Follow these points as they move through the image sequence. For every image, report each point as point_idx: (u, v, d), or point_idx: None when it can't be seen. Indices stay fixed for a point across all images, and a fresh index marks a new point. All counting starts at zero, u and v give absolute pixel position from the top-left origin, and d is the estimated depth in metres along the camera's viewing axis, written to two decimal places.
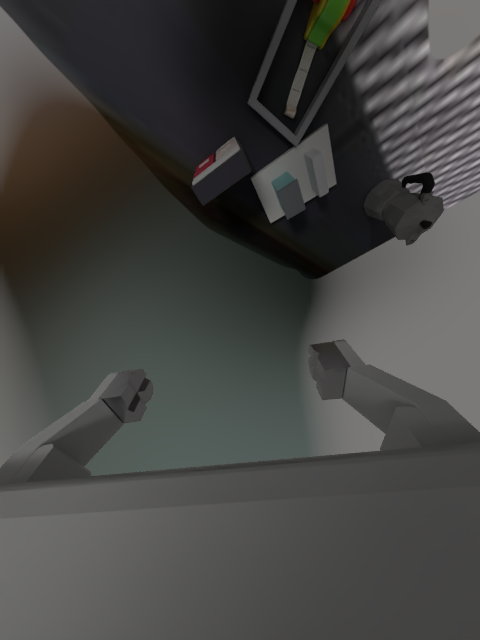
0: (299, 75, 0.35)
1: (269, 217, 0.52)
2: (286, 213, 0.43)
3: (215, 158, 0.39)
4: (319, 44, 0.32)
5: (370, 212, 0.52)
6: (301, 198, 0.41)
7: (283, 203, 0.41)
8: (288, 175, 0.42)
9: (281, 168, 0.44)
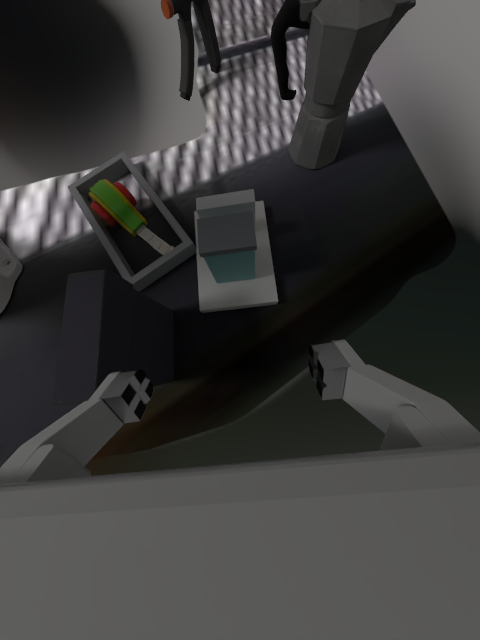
0: (153, 241, 0.34)
1: (267, 300, 0.28)
2: (243, 245, 0.20)
3: None
4: (140, 221, 0.33)
5: (326, 150, 0.31)
6: (229, 216, 0.21)
7: (222, 247, 0.20)
8: None
9: None
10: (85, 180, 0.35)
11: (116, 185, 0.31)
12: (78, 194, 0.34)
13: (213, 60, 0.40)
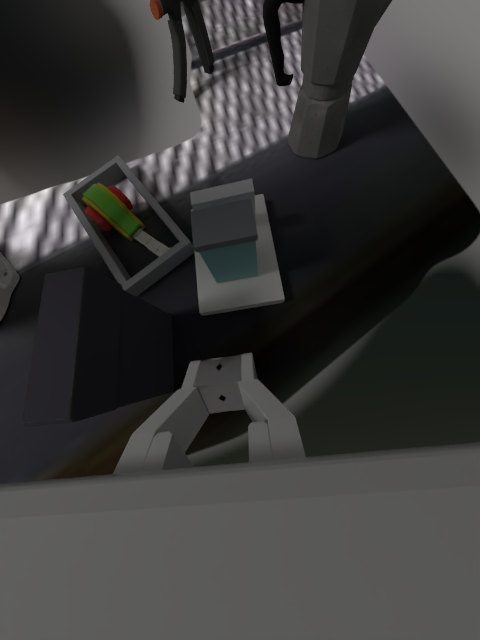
0: (151, 244, 0.32)
1: (272, 298, 0.26)
2: (242, 235, 0.18)
3: None
4: (137, 224, 0.32)
5: (328, 136, 0.29)
6: (226, 205, 0.19)
7: (218, 239, 0.18)
8: None
9: None
10: (81, 186, 0.34)
11: (110, 188, 0.30)
12: (73, 201, 0.33)
13: (206, 61, 0.39)
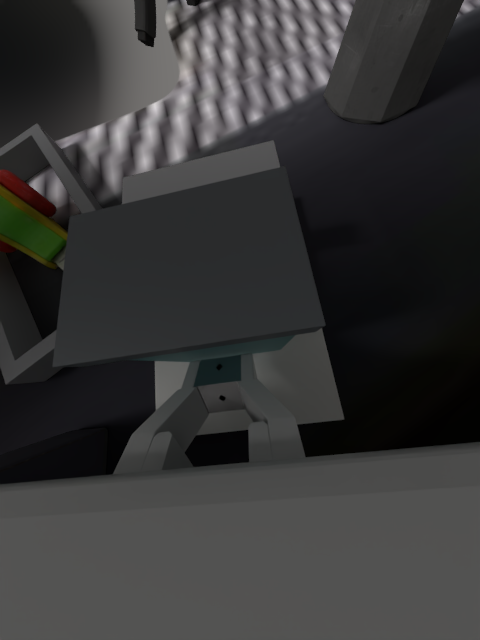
0: None
1: (315, 415, 0.11)
2: (254, 323, 0.04)
3: None
4: (59, 240, 0.18)
5: (413, 74, 0.15)
6: (192, 195, 0.05)
7: (155, 334, 0.04)
8: None
9: None
10: None
11: None
12: None
13: None
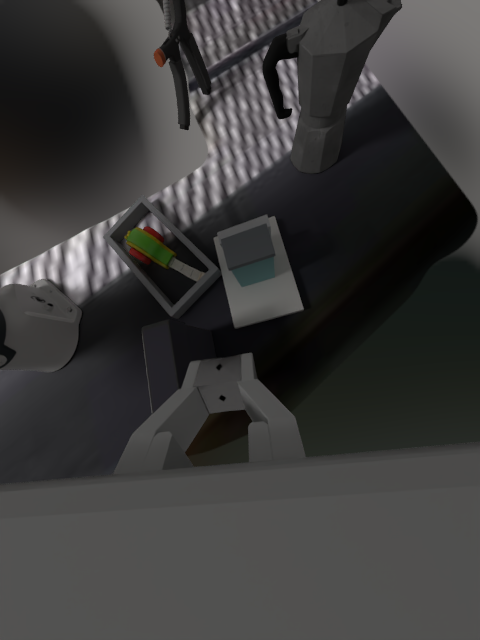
0: (184, 270, 0.38)
1: (293, 309, 0.31)
2: (263, 254, 0.24)
3: None
4: (170, 255, 0.38)
5: (329, 153, 0.32)
6: (247, 231, 0.25)
7: (246, 259, 0.24)
8: None
9: (235, 287, 0.34)
10: (116, 228, 0.40)
11: (146, 230, 0.35)
12: (113, 242, 0.40)
13: (204, 84, 0.41)
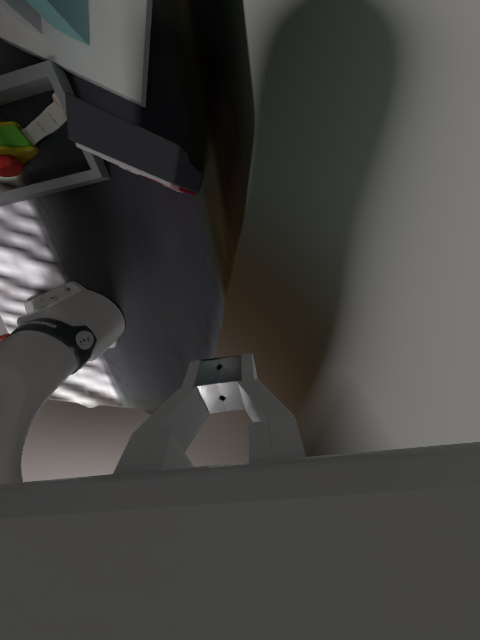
0: (46, 126, 0.29)
1: None
2: None
3: None
4: (15, 127, 0.28)
5: None
6: None
7: None
8: (34, 7, 0.21)
9: (87, 57, 0.25)
10: None
11: None
12: None
13: None
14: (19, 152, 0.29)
